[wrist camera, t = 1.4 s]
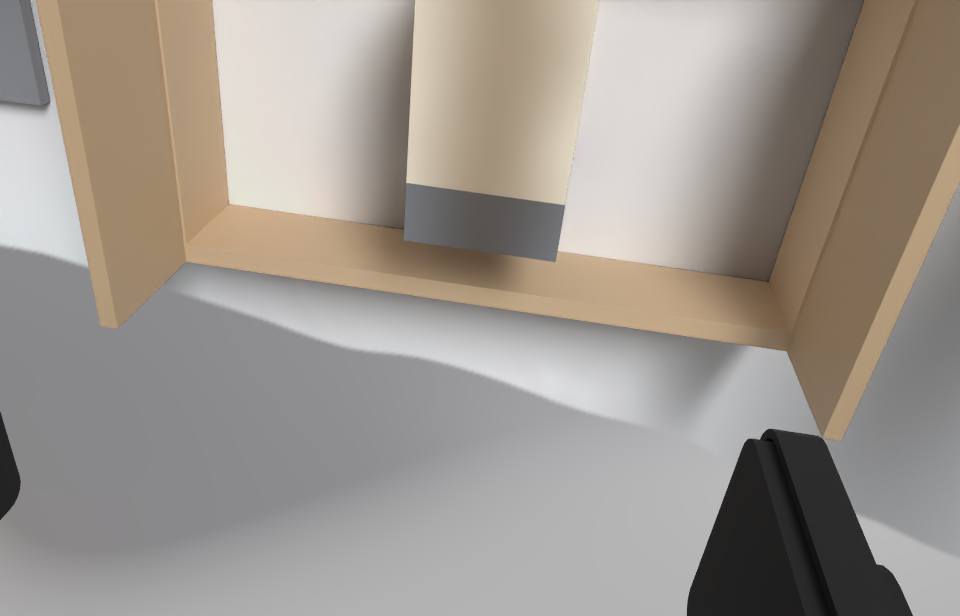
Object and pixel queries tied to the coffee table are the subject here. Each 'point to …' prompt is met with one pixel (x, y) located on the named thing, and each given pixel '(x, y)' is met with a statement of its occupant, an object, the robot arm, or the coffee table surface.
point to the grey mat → (20, 56)
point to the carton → (509, 279)
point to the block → (495, 122)
